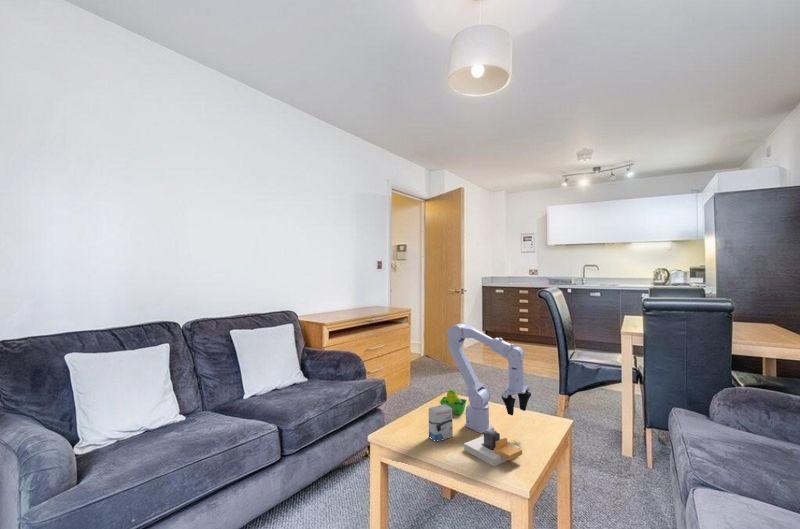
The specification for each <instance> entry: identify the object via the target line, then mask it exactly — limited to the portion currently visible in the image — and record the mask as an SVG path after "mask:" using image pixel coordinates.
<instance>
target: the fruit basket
mask: <svg viewBox="0 0 800 529" xmlns="http://www.w3.org/2000/svg"><path fill="white" fill-rule="evenodd" d="M439 404H440V405H444V404H446V405H448V406H449V407H451V408H452V414H453V413H457V414H456V415H460V414H461V415H463V413H464V412H465V410H466V404H467V399H465V398H463V399H462V398H459V395H458V393H457V392H456V391H455V390H454V389H452V388H450V389H448V390H447V392H446V396H443V397H442V398H441V399H440V400H439Z"/></svg>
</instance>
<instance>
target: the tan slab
mask: <svg viewBox="0 0 800 529" xmlns="http://www.w3.org/2000/svg"><path fill="white" fill-rule="evenodd" d="M507 441H508V438H507V437H504V438H501V440H498V441H496V447H495V448H494V452H495V453H497V454H499V455H500V456H502V457H504V458H506V459H508V460H507V461H510V460H513V459H516V458H517V457H520V456H522V455H523V449H521V448H520V449H519V448H517V447H515V446H513V445H510V444H508V443H507Z"/></svg>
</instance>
